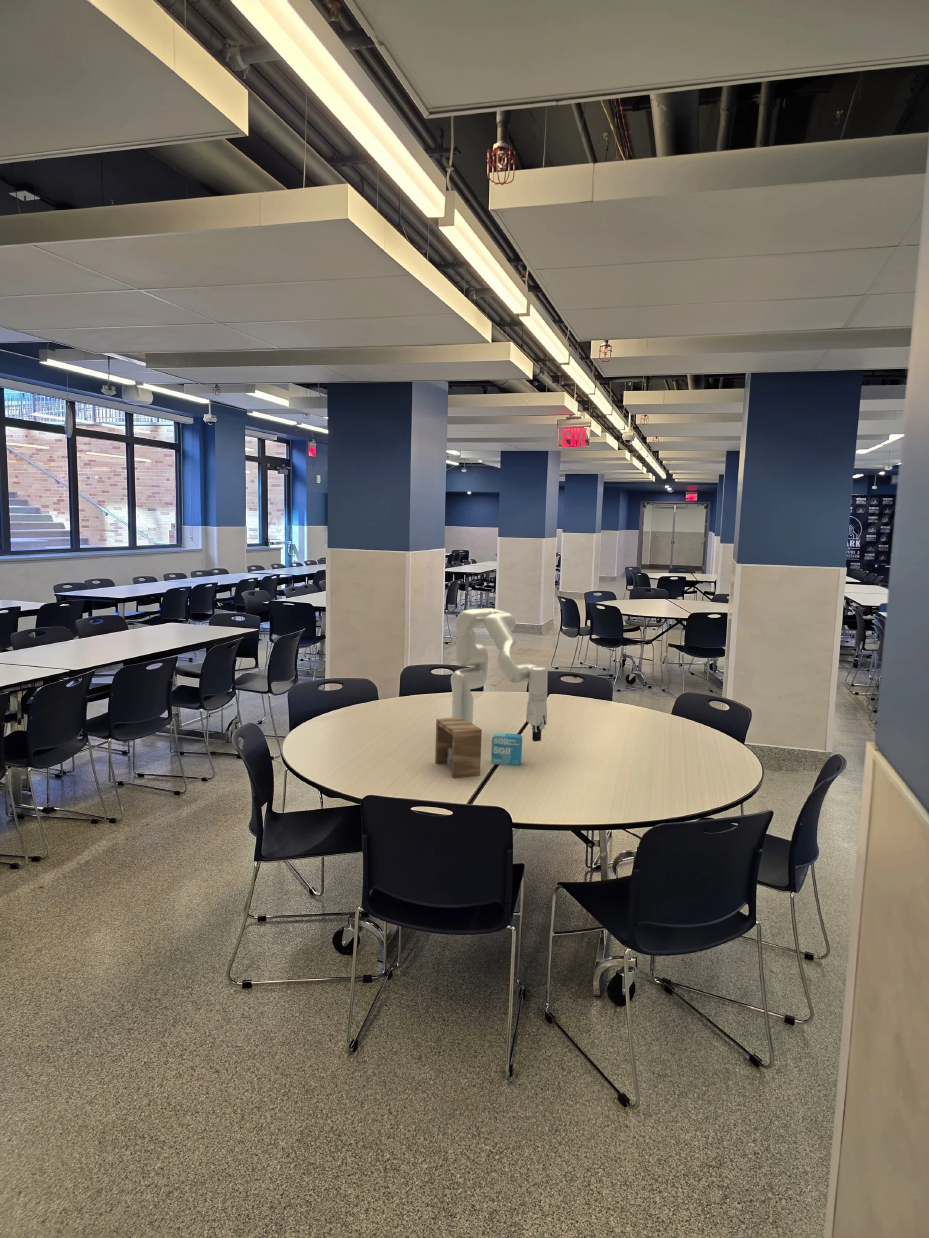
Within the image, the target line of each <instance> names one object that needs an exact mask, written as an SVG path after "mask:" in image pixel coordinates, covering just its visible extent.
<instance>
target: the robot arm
mask: <svg viewBox="0 0 929 1238" xmlns="http://www.w3.org/2000/svg"><path fill="white" fill-rule="evenodd" d="M515 626H516V619H515V616H513V614H512V613H510V612H508V611H505V610H499V609H497V608H496V609H495V608H492V607H483V608H470V609H465V610H463V611H461V612H460V613H458V615H457V617H456V620H455V629H456V639H455V640H456V644H455V662H456V664H457V665H458V666H460V667H466V668H460V669H458V670H454V672H452V674H451V676H450V685H451V692H452V693H451V694H452V698H451V699H452V700H451V701H452V702H451V703H452V704H451V706H452V707H451V709H452V710H451V718H455V717H462V718H464V719H466V720H467V721H469V722H470V723H472V724H474V697H473V694H472V692H471V690H473V689H478V688H482V687H483V686H485V684H486V682H487V679H488V678H487V677H488V668H489V667H488V666H489V654H488V649H487V648H486V647H485V645H484V644H481V643H476V639H477V638H476V633H475V629H480V628H486V630H487V631H488V633H489V636H490V637H491V639H492V640H493V643H494V644H495V646H496V647H497V649H498V657H497V658H498V659H497V660H498V661H497V662H498V665H499V668H500V671H501V672H502V674H503V675H504V677H505V678H506V680H507V681H508V682H509V683H512V684H515V685H516V684H520V683H521V684H522V683H528V698H527V699H528V700H527V703H526V704H527V705H526V712H525V713H526V715H525V718H526V719H525V720H526V722H527V723H529V724H530V725H531V731H532V734H531V735H532V737H531V738H532V739H531V740H532V741H533V742H535V743H537V742H542V732H543V730H545V728H546V725H547V724H548V723H547V722H548V705H547V704H548V703H547V702H548V673H549V672H548V669H547V667H545V666H540V665H535V664H532V663H530V662H529V663H519V664H515V662H514V660H513V659H512V656H511V650H512V649H513V648H514V647H515V646H516V644H517V639H516V637H515V635H514V634H513V632H512V631H513V630H514V629H515ZM469 666H470V667H469Z"/></svg>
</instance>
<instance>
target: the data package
mask: <svg viewBox="0 0 929 1238" xmlns="http://www.w3.org/2000/svg"><path fill="white" fill-rule="evenodd" d="M522 752H523V736H522V735H521V734H519V733H506V732H505V733H504V732H495V733H494V734H493V735H492V737H491V752H490V754H491V756H490V757H491V759H490V761H491V764H493V765H505V766H520V765H521V764H522V756H523V755H522V754H523V753H522Z"/></svg>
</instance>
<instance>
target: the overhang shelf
mask: <svg viewBox="0 0 929 1238" xmlns="http://www.w3.org/2000/svg"><path fill="white" fill-rule="evenodd" d="M482 733H483V731H482V729H481V727H478V726H476V725H475V724H474V723H473V724H472V723H470V722H469V721H467V720H466V719H464V718H462V717H455V718H452V717H442V718H436V721H435V749H434V750H435V751H434V753H435V754H434V756H435V757H434V763H435V764H437V765H439V764H441V765H442V764H447V766H448V767H450V769H451V778H453V779H459V778H467V777H468V778H469V777H475V776H476V777H477V776H481V761H482V760H481V757H482Z"/></svg>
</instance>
